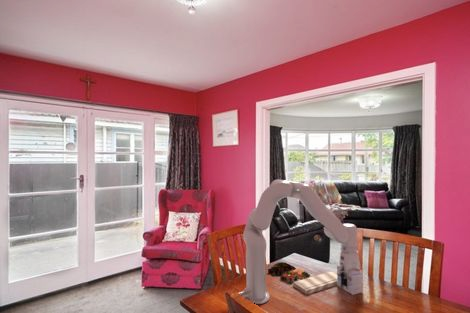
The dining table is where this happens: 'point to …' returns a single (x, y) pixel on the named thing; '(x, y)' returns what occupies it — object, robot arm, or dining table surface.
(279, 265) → the food
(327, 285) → the plank
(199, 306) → the dining table surface
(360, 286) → the light bulb box
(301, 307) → the dining table surface
